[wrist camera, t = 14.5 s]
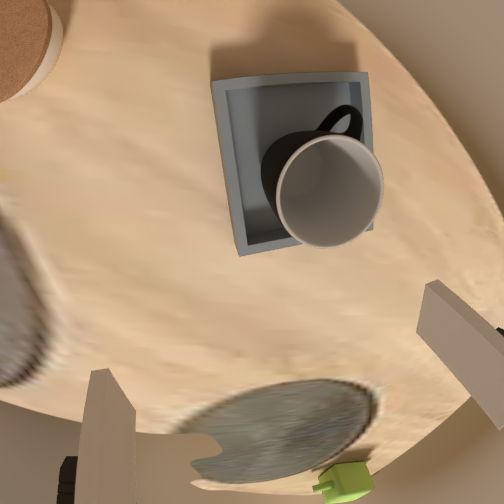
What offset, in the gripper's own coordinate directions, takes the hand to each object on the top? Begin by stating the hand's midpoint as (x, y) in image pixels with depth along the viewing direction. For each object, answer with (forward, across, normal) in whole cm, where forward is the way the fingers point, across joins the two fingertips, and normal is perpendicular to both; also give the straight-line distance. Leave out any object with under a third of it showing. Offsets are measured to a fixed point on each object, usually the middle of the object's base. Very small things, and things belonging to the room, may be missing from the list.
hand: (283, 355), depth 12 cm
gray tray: (+23, +9, +2) cm, 25 cm away
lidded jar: (+24, -16, +20) cm, 35 cm away
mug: (+22, +9, +2) cm, 24 cm away
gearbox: (+22, +16, -77) cm, 81 cm away
